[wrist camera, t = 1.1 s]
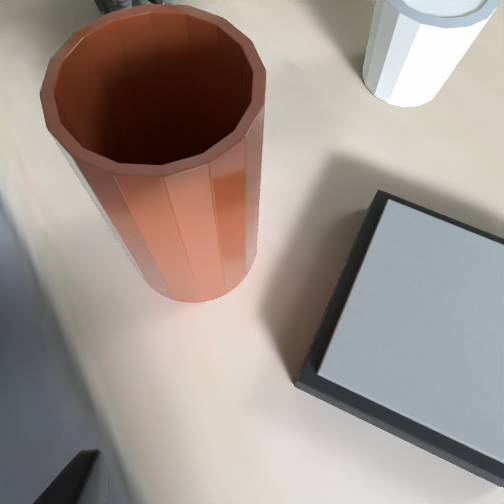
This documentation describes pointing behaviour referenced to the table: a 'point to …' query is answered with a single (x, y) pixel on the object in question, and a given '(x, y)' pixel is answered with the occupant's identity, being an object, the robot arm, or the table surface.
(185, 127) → the cup
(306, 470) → the table surface
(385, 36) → the white cylinder
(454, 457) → the scale
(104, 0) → the clip-on lamp
